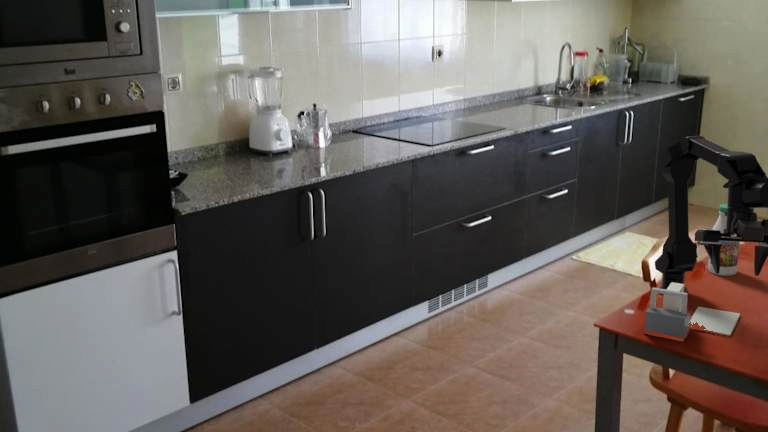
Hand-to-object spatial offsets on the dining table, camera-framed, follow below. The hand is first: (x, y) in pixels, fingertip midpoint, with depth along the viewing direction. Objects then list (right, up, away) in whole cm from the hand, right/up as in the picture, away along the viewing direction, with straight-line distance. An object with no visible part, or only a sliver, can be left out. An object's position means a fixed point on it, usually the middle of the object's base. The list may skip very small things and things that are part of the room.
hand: (737, 274), depth 184 cm
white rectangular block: (-11, -14, +11) cm, 21 cm away
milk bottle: (+16, -3, +46) cm, 49 cm away
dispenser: (-14, -15, +7) cm, 22 cm away
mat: (0, -13, +12) cm, 18 cm away
